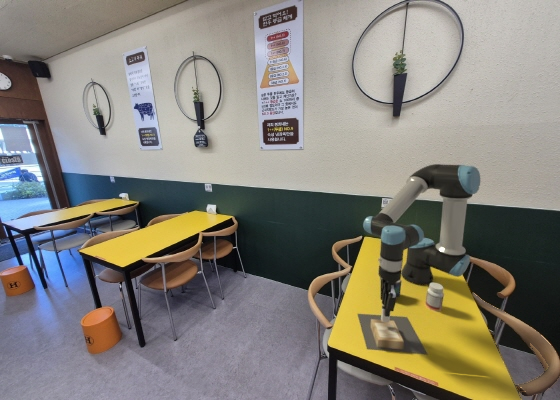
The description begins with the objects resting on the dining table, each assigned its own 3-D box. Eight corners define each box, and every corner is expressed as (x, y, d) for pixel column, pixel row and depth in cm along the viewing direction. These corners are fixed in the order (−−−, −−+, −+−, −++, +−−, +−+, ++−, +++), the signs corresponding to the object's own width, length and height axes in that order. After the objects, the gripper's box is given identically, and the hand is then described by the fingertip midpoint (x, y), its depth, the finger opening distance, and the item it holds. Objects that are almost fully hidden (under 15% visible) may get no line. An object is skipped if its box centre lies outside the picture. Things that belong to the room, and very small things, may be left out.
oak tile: (394, 320, 90) (403, 341, 81) (393, 327, 91) (402, 349, 82) (371, 319, 92) (378, 339, 82) (370, 326, 92) (377, 347, 83)
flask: (396, 293, 112) (398, 274, 110) (402, 296, 110) (404, 277, 107) (383, 299, 109) (385, 279, 106) (388, 302, 106) (390, 283, 104)
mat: (406, 317, 97) (407, 316, 97) (427, 355, 79) (427, 354, 79) (357, 314, 100) (357, 313, 100) (366, 349, 82) (367, 349, 82)
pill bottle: (432, 301, 106) (435, 280, 103) (444, 310, 100) (448, 288, 97) (422, 304, 104) (425, 283, 102) (433, 313, 99) (437, 291, 96)
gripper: (374, 258, 89) (371, 308, 94) (385, 276, 76) (380, 333, 82) (394, 258, 88) (389, 309, 93) (408, 277, 75) (401, 335, 81)
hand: (385, 320), depth 87 cm, fingers closed
